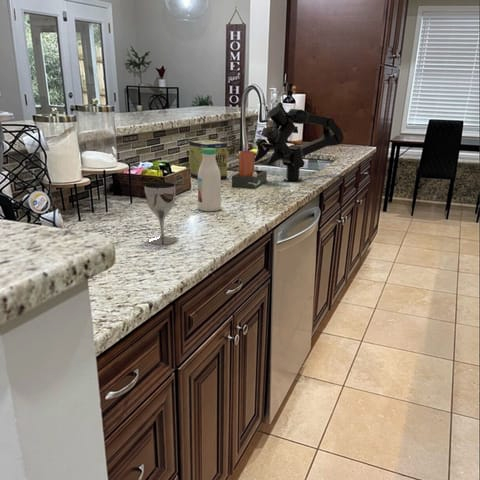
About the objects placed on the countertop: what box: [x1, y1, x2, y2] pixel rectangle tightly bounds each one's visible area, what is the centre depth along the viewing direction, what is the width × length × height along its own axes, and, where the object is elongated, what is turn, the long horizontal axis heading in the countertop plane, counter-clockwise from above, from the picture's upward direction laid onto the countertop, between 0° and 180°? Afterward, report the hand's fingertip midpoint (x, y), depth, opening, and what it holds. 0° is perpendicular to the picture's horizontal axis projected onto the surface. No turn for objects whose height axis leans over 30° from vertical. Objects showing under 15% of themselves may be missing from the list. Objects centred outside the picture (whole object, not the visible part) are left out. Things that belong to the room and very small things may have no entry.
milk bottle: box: [197, 148, 222, 212], centre depth 168 cm, size 8×8×20 cm
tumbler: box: [238, 150, 256, 177], centre depth 208 cm, size 6×6×13 cm
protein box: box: [188, 139, 228, 181], centre depth 225 cm, size 10×16×16 cm
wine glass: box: [144, 182, 177, 245], centre depth 134 cm, size 8×8×15 cm
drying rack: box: [231, 169, 268, 190], centre depth 214 cm, size 9×18×5 cm, turn 160°
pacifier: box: [248, 172, 260, 188], centre depth 208 cm, size 7×6×6 cm
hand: (261, 162), depth 211 cm, fingers open, 9 cm apart
